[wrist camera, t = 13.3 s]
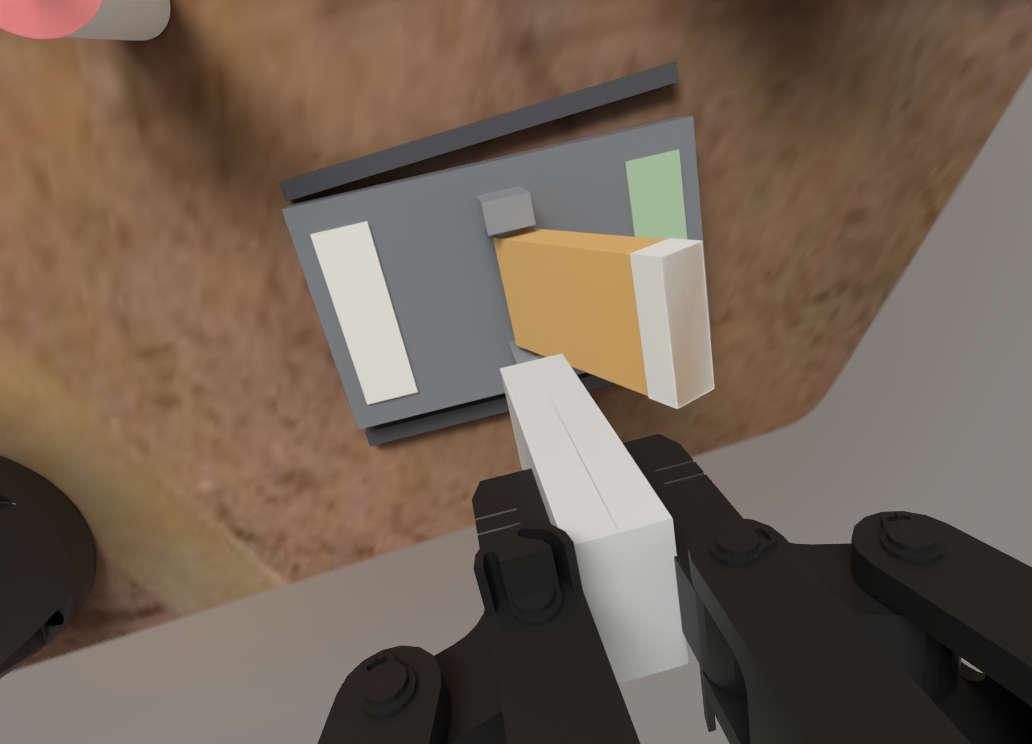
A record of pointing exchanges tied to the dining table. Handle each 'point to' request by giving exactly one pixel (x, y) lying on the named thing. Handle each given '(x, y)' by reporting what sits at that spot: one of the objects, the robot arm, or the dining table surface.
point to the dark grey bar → (479, 131)
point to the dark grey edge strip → (456, 415)
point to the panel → (472, 257)
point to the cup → (85, 18)
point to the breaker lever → (612, 307)
